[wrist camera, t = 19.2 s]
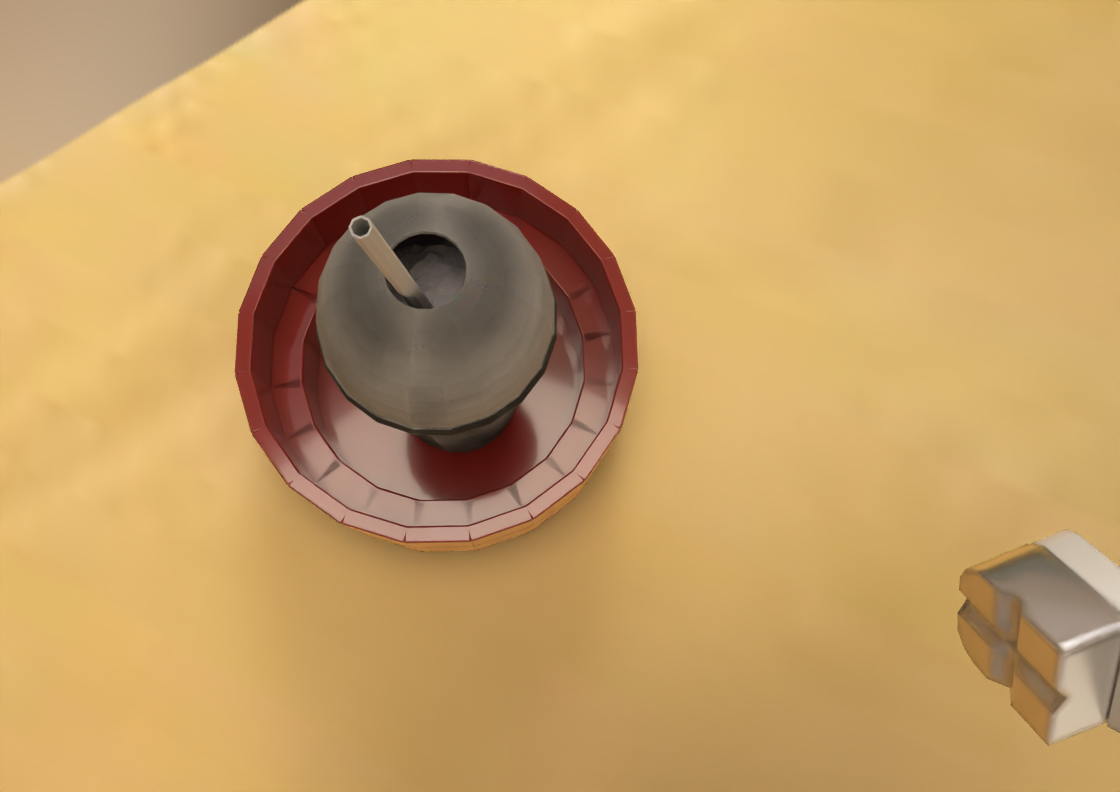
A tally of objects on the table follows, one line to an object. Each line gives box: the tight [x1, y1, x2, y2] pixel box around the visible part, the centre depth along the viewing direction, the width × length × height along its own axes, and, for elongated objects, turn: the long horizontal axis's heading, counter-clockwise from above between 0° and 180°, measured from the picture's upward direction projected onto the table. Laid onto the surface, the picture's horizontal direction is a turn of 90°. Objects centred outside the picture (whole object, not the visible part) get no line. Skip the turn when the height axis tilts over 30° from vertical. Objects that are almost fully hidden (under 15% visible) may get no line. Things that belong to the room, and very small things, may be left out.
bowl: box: [235, 160, 638, 552], centre depth 36 cm, size 15×15×6 cm
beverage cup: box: [316, 193, 557, 453], centre depth 28 cm, size 7×7×20 cm
